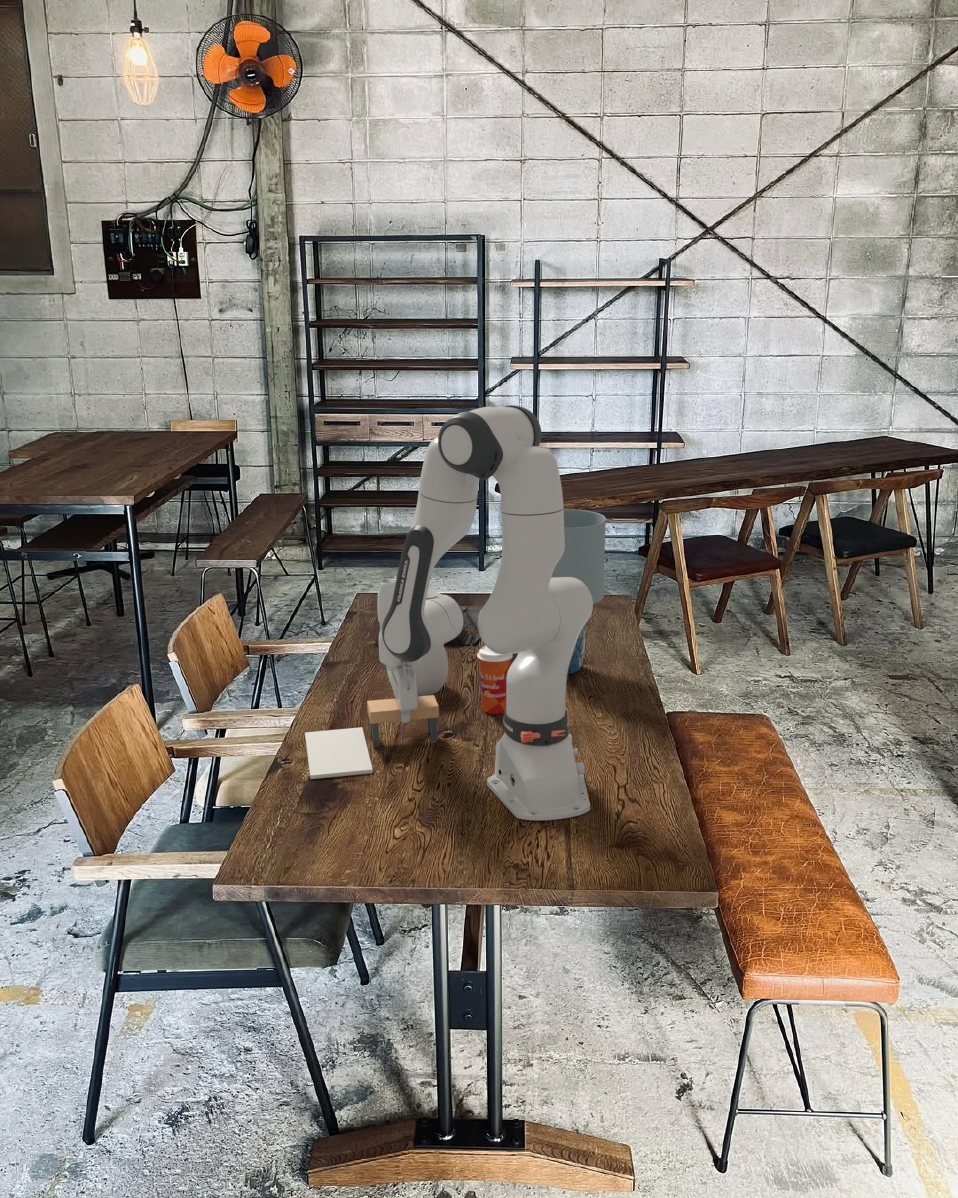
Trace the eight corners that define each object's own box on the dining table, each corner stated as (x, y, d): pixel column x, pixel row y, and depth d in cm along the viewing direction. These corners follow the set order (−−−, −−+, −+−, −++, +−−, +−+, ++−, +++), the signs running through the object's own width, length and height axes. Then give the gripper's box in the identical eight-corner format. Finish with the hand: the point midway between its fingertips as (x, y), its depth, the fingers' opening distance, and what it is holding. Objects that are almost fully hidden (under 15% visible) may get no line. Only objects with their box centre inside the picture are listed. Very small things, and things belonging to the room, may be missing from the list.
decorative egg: (436, 676, 254) (434, 616, 250) (457, 693, 243) (456, 632, 239) (388, 684, 249) (386, 624, 245) (407, 703, 238) (405, 640, 234)
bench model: (434, 730, 225) (433, 695, 222) (439, 741, 219) (438, 706, 217) (368, 736, 222) (367, 701, 219) (371, 748, 216) (370, 712, 214)
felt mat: (372, 773, 206) (372, 769, 206) (310, 779, 204) (310, 775, 203) (362, 730, 225) (362, 727, 224) (305, 736, 222) (304, 732, 222)
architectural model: (474, 653, 273) (495, 623, 302) (477, 631, 272) (498, 603, 300) (410, 643, 276) (437, 614, 305) (412, 620, 275) (439, 593, 303)
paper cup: (471, 712, 233) (470, 652, 229) (487, 699, 240) (487, 641, 236) (503, 718, 230) (503, 658, 226) (518, 706, 236) (518, 647, 232)
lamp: (540, 650, 270) (541, 505, 258) (612, 662, 262) (617, 513, 250) (509, 676, 253) (509, 522, 242) (584, 689, 245) (588, 531, 234)
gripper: (424, 668, 205) (425, 733, 210) (409, 633, 225) (411, 694, 229) (391, 670, 204) (394, 736, 208) (379, 636, 223) (381, 696, 228)
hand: (402, 714), depth 219 cm, fingers closed on bench model, 6 cm apart
